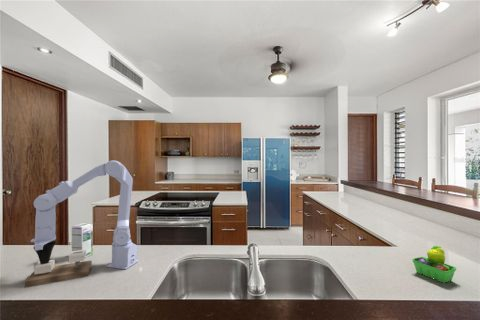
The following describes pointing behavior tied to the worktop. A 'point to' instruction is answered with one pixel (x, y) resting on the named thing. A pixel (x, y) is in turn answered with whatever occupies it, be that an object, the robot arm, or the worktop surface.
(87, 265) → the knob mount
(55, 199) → the robot arm
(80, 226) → the syrup box
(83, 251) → the white square block
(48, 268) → the knob outer
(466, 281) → the worktop surface
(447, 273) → the fruit basket
